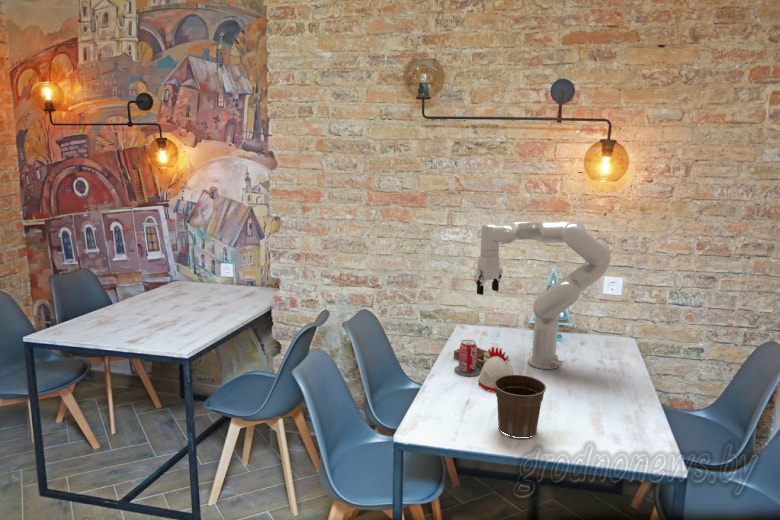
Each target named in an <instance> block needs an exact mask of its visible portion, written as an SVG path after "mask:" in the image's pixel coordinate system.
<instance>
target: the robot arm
mask: <svg viewBox="0 0 780 520" xmlns="http://www.w3.org/2000/svg"><path fill="white" fill-rule="evenodd" d="M586 230H587V229H586V227H585V225H584V224H583V222H580V221H578V220H577V221H576V220H564V221H563V220H562V221H515V222H508V223H506V224H505V225H500V224H498V223H493V222H485V223H483V224H482V226H481V236H480V256H479V257H478V260H477V266H476V273H475V274H474V275H473V280H474V282H475V284H476V285H475V286H476V294H477V295H480V296H482V295H484V287H485V286H484V284H485V282H486V281H487V282H488V281H491V280H492V282H491V290H492V291H494V292H499V289H500V287H499V286H500V282H501V279H502V277H503V276H502V275H503V272H504V271H503V270H502V269H500V267H501V265H500V256H499V253H500V243H502V244H505V245H506V244H508V245H509V244H510V245H511V244H512V243H514V242H515V241H517V240H533V241H537V242H540V243H543V244H556V243H557V244H558V243H565V244H566V246H568V247H569V248H570V249H571V250H572V251H574V252H575V253H576V254H577V255H578V256H580V257H581V258H582V259H583V260H584V261H585V262H584V263H582V264H581V265H579V267H577V268H576V269H575V270H573V271H572V272H570V273H568V274H567V275H566V276H564V277H562V278H561V279H559V280H558V282H557V284H556V285H555V286H553V287H552V288H551V289H546V290H542V291H541V292H540V293H539V294H537V296H536V298H535V300H534V302H533V305H532V311H533V313H534V322H533V323H534V324H533V338H532V351H531V352H532V353H531V354H532V355H531V356H530V357H529V358H528V359H527V364H529V365H530V366H531V367H534V368H535V369H540V370H541V369H542V370H554V369H556V368H561V367H562V366H563V363H564V362H563V360H561V359H559V358H558V357H559V356H558V355H557V346H558V345H557V343H558V342H557V341H558V331H559V320H560V319H559V318H560V313H562V312H564V311H566V310H567V309H568V308H569V307H571V306H573V304H575V303H576V302H577V301H578V300H579V298H580V296H581V294H582V293H583V292H584V291H586V289H588V288H589V287H591V286H592V285H593V284H594V283H596V282H597V281H599V279H601V278H602V277H603V276H604V274H605V273H606V272H607V270H608V268H609V265H610V263H611V250H610V246H609V245H608V243H607V242H606V241H605V240H603V239H595V238H594V237H593V236H591V234H589V233H588V232H587V231H586Z"/></svg>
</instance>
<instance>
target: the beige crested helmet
mask: <svg viewBox="0 0 780 520" xmlns="http://www.w3.org/2000/svg"><path fill="white" fill-rule="evenodd" d="M487 351H488V352H489V354H490V357H491V358H490V359H488V360H487V361H486V363H484V366H483V368H482V370H481V373H480V375H478V386H479V385H480V386H481V387H482V388H481V387H480V386H479V387H480V388H481V389H483V388H484V389H483V390H485V389H486V391H487V390H490V391H489V392H491V391H495V392H494V393H496V388H495V386H494V381H495V380H496V379H497V378H499V377H502V376H506V375H515V373H514V369H513V367H512V365H511V364H510V361H509V362H508V361H507V359H509V355H507V356H506V351H504V352H503V351H502V348H499V347H498V346H497V347H496V348H495V347H494V346H492V347H491V349H490V348H488V350H487ZM505 356H506V357H505Z"/></svg>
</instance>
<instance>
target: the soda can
mask: <svg viewBox="0 0 780 520" xmlns="http://www.w3.org/2000/svg"><path fill="white" fill-rule="evenodd" d="M477 347H478V345H477V343H476V340H473V339H462V340H461V343H460V345H459V349H460V351H459V360H458V366H459V369H460V370H461V371H463V372H467V373H470V372H473V371H475V370H476V363H477Z"/></svg>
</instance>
